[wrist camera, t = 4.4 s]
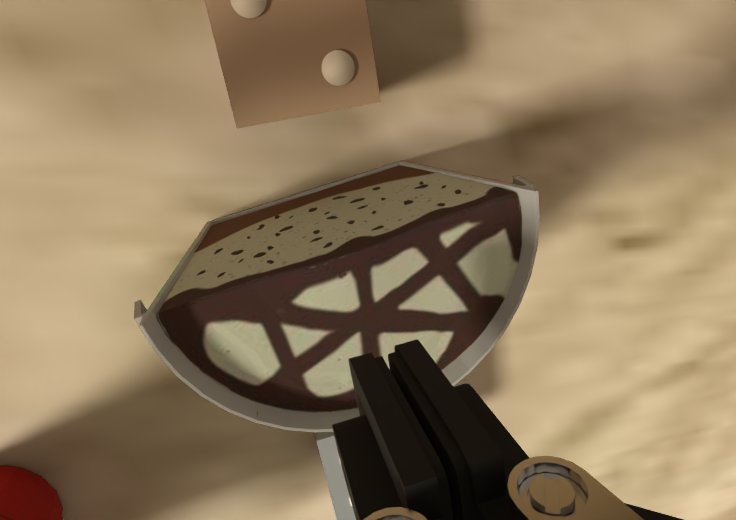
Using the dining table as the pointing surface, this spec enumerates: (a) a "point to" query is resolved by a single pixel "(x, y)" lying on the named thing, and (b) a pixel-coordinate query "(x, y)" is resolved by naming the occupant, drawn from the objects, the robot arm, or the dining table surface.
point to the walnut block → (293, 57)
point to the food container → (344, 289)
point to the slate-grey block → (334, 476)
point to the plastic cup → (27, 496)
